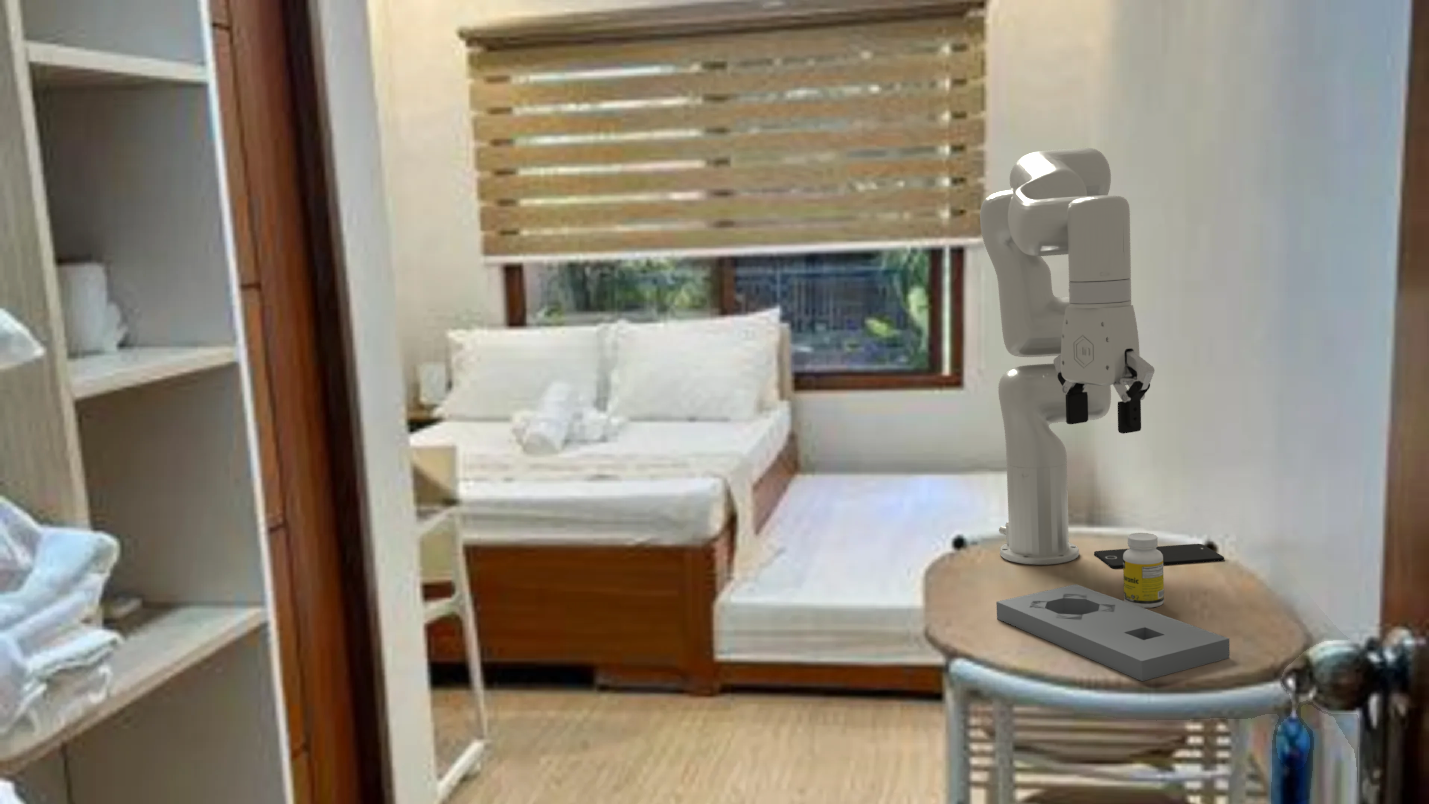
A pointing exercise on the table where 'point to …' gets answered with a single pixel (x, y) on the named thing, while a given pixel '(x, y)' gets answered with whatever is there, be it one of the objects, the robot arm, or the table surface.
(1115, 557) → the cell phone
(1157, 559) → the supplement bottle
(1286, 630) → the table surface
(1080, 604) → the socket plate
